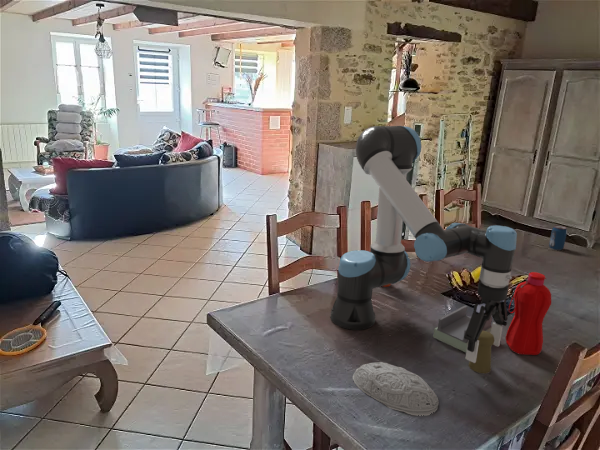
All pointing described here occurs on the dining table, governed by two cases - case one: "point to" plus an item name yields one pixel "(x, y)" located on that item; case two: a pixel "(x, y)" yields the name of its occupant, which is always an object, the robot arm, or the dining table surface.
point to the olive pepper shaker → (483, 353)
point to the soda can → (558, 237)
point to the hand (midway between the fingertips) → (482, 352)
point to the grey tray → (456, 328)
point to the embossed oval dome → (396, 388)
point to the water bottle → (529, 315)
